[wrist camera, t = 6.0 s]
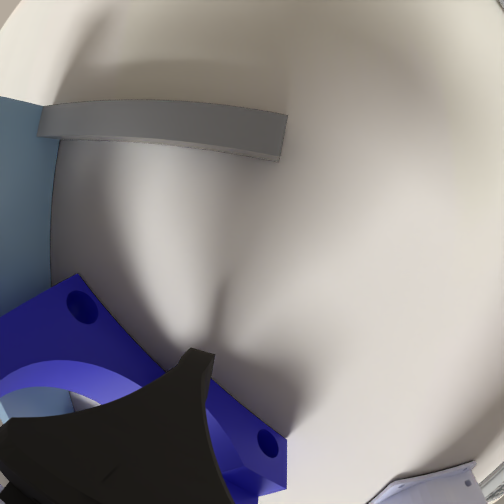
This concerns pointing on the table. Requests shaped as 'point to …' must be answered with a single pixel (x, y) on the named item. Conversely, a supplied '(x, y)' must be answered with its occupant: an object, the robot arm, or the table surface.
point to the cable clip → (127, 379)
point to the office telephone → (493, 484)
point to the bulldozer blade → (42, 177)
